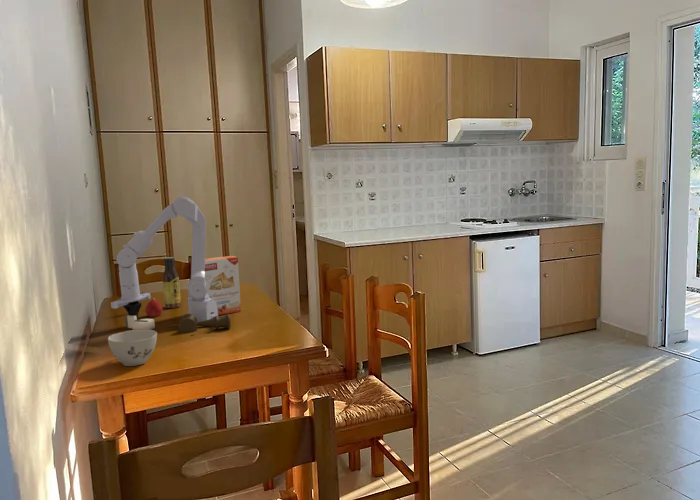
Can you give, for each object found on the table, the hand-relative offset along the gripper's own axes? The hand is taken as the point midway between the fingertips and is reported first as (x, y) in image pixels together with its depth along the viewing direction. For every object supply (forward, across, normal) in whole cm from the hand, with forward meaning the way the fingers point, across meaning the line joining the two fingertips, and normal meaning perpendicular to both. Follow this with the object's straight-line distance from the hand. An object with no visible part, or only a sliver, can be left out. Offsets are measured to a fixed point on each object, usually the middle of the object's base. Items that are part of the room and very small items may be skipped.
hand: (134, 324), depth 185 cm
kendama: (+3, -7, +23) cm, 24 cm away
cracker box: (+3, -29, +12) cm, 31 cm away
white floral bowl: (+2, +23, +28) cm, 36 cm away
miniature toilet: (+1, +1, +4) cm, 4 cm away
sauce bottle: (+3, -31, -15) cm, 34 cm away
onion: (+2, -14, -6) cm, 15 cm away
